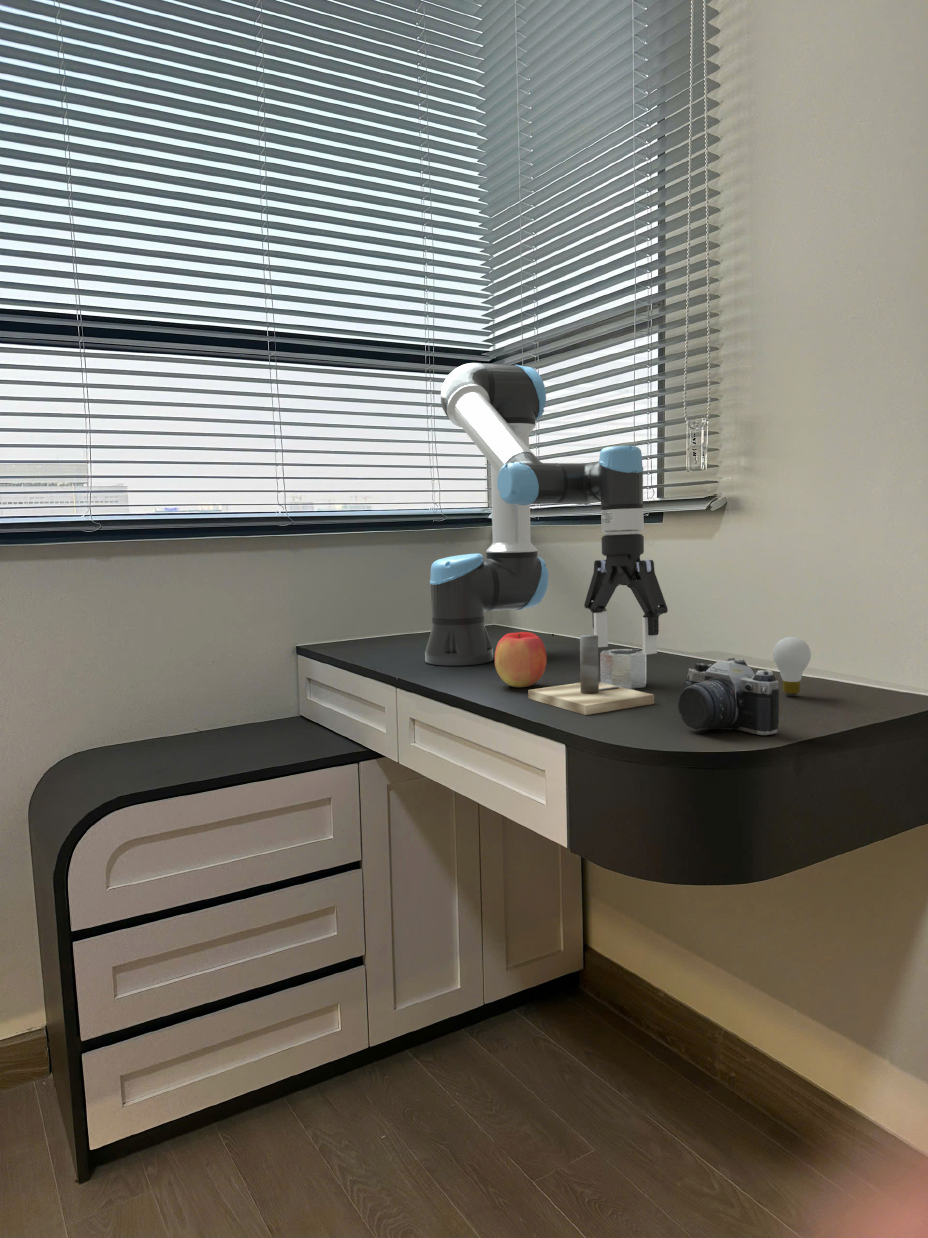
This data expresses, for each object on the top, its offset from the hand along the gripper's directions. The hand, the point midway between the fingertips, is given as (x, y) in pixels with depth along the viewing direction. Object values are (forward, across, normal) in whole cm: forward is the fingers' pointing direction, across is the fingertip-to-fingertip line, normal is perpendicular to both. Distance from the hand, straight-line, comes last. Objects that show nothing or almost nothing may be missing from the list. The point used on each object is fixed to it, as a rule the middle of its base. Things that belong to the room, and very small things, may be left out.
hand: (624, 650), depth 157 cm
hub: (+6, 0, 0) cm, 6 cm away
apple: (+6, -10, -16) cm, 20 cm away
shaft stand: (+7, +8, -14) cm, 17 cm away
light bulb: (+7, +24, +15) cm, 30 cm away
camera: (+7, +33, -11) cm, 36 cm away
